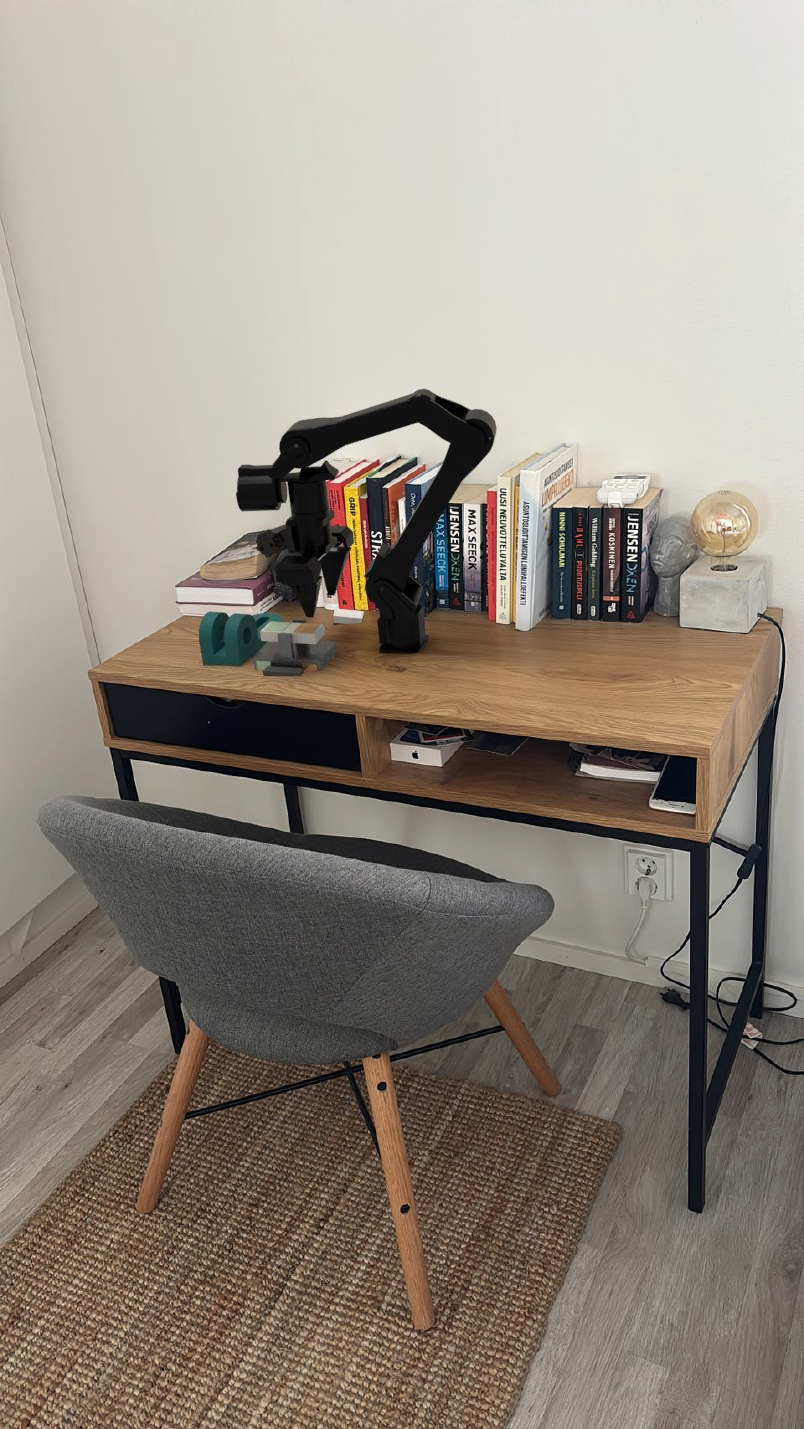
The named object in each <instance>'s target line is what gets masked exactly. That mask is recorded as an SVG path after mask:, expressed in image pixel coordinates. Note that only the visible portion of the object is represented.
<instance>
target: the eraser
mask: <svg viewBox="0 0 804 1429" xmlns="http://www.w3.org/2000/svg"><path fill="white" fill-rule="evenodd" d="M363 619H364V611H363V610H354V609H342V608H335V609H334V613H333V615H332V623H334V624H345V625H348V624H359V623H360V624H361V623H362V622H363Z"/></svg>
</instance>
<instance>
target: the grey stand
mask: <svg viewBox="0 0 804 1429" xmlns="http://www.w3.org/2000/svg"><path fill="white" fill-rule="evenodd" d="M292 623H308V621H307V617H306V618H301V617H294V618H293V619H292ZM277 636H278V642H271V641H268V642H267V643H266V644H265V645H264V646H263V647H262V648H261V649H260V650H259V651H258V652H257V653H256V654H255V655H254V656H253V657H252V658H253V664H254V665H253V666H254V670H256V671H263V670H264V669H265V668H266V667H267V666H273V667H288V668H302V669H304V672H306V671H307V672H318V671H322V670H323V669H324V668H325V667H326V666H327V665H328V664H329V662H330V661H332V659H333V658H334V657H335V656H336V655H337V654H338V649H337V642H336V641H334V642H333V641H321V640H319V641H318V642H317V644H304V643H293V641H292V634H290V633H279V634H278V635H277ZM336 653H337V654H336Z"/></svg>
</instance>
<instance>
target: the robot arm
mask: <svg viewBox="0 0 804 1429" xmlns="http://www.w3.org/2000/svg"><path fill="white" fill-rule="evenodd" d="M415 424H420V425H421V426H424V427H425V428H427V429H428V430H430V431H431V432H432V433H433V434H435V435H437V436H438V437H439V438H441V439H442V440H444V441H445V442H447V443H448V444H449V446H448V448H447V450H446V454H445V456H444V460H443V462H442V464H441V465H440V467H439V469H438V470H437V471H436V472H437V473H436V474H435V476H434V478H433V479H432V480H431V482H430V484H429V485H428V488H427V489H426V491H425V493H424V494H423V495H422V498H421V499H420V501H419V502H418V504H417V507H416V508H415V510H414V511H413V513H412V514H411V517H410V518H409V520H408V521H407V523H406V525H405V526H404V528H403V530H402V532H401V534H400V535H399V537H398V538H397V539H396V541H394V542H393V543H392V544H391V545H390V546H389V545H387V544H386V543H385V541H384V542H383V541H382V543H381V544H380V547H379V549H378V551H377V554H376V555H375V557H374V558H373V559H372V560H370V563H369V565H368V567H367V569H366V571H365V573H364V576H363V577H364V578H365V579H366V578H367V579H366V581H365V584H364V591H365V595H366V597H367V598H368V600H369V601H370V602H371V603H373V605H376V607H377V609H378V611H379V612H378V613H379V617H378V618H377V619H376V623H377V624H376V626H377V635H378V643H379V644H381V645H380V646H378V651H379V652H380V653H381V652H382V653H396V654H397V653H398V654H418V653H420V652H421V650H422V649H424V648H423V647H425V646H426V644H427V642H428V641H429V639H430V635H429V634H426V625H425V622H426V620H425V606H424V605H422V604H418V603H419V600H420V598H421V594H422V592H423V585H422V584H420V583H419V582H418V581H417V580H416V579H415V578H413V577H412V576H411V575H410V574H411V571H412V569H413V566H414V564H415V561H416V559H417V556H418V555H419V553H420V551H421V550H422V548H423V547H424V545H425V543H426V541H427V540H428V538H429V537H430V535H431V533H432V532H433V530H434V528H435V526H436V525H437V523H438V522H439V520H440V518H441V516H442V515H443V513H444V511H445V510H446V509H447V507H448V505H449V504H450V502H451V501H452V498H453V497H454V496H455V493H456V492H457V490H458V488H459V487H460V486H461V484H462V482H463V481H464V480H465V479H466V478H467V477H468V476H469V475H470V474H471V473H472V472H473V471H474V470H475V469H476V468H477V467H478V466H479V465H480V463H481V462H482V461H483V460H484V459H485V458H486V457H487V455H488V454H490V452H491V450H492V448H493V447H494V443H495V439H496V435H497V430H498V428H497V423H496V420H495V419H494V417H493V416H492V414H490V413H489V412H488V411H487V410H484V409H482V408H481V409H479V408H473V409H471V408H468V407H466V406H465V405H464V404H460V403H459V402H456V401H453V400H451V399H447V398H444V397H442V396H440V395H438V394H436V393H434V392H433V391H431V390H429V389H426V388H420V389H417V390H416V391H414V392H411V393H410V394H407V395H403V396H400V397H397V398H394V399H391V400H388V401H385V402H382V403H378V404H376V405H372V406H369V407H366V408H364V409H361V410H357V411H354V412H351V413H348V414H344V415H341V416H334V417H325V416H323V417H315V418H308V419H307V418H306V419H300V420H298V421H296V422H294V423H293V424H292V425H291V426H289V428H288V429H287V430H286V431H285V432H284V433H283V435H282V436H281V438H280V441H279V445H278V449H279V453H280V454H279V455H278V457H277V458H276V459H275V460H274V461H273V462H272V464H262V465H260V464H258V465H253V464H241V465H240V466H239V467H238V468H237V474H238V477H237V483H236V492H235V496H236V502H237V506H238V509H239V510H240V511H241V512H263V511H265V512H266V511H280V510H281V507H282V504H286V503H287V500H288V498H289V506H290V507H289V508H290V516H289V517H288V518H287V519H286V520H285V523H283V524H282V525H279V526H277V527H274V528H272V529H266V530H265V531H264V532H263V531H260V532H259V533H257V535H256V541H255V544H256V547H255V548H256V551H257V552H259V553H260V555H261V554H262V555H264V556H265V558H266V559H267V558H271V557H273V555H276V554H278V553H280V552H283V551H286V550H287V554H297V553H298V554H299V555H286V556H284V557H283V558H282V559H281V560H280V561H279V562H278V563H277V564H276V565H275V566H274V567H273V569H272V570H273V578H274V581H275V582H276V583H280V584H281V585H283V586H287V587H289V588H290V589H292V591H293V593H294V594H295V596H296V598H297V600H298V602H299V604H300V606H301V608H302V610H303V613H304V614H305V617H306V618H309V619H311V618H314V617H315V614H316V610H317V606H318V602H319V601H318V599H319V596H320V591H321V585H322V582H323V581H324V585H325V588H326V589H325V590H326V592H327V595H328V596H335V595H336V593H337V590H338V586H339V584H340V581H341V578H342V575H343V571H344V569H345V566H346V564H347V561H348V558H349V556H350V552H351V551H352V546H353V544H354V543H355V538H354V537H355V536H354V531H353V530H352V529H351V528H350V526H348V525H332V522H331V521H332V520H333V519H334V518H335V510H332V509H331V510H330V506H329V497H328V487H327V481H334V480H335V479H336V478H337V476H338V475H339V473H340V470H339V469H338V468H336V467H335V466H333V465H332V464H330V462H329V460H327V459H326V460H324V461H323V462H322V464H321V465H318V466H317V465H316V466H312V465H314V464H316V463H317V462H320V461H322V460H323V459H325V458H327V457H329V455H332V454H333V453H335V452H337V451H338V450H340V449H342V448H343V447H345V446H348V445H352V444H354V443H358V442H361V441H364V440H367V439H371V438H374V437H377V436H380V435H383V434H386V433H390V432H392V431H395V430H399V429H402V428H405V427H408V426H411V425H415ZM295 469H298V470H300V471H297V472H292V471H293V470H295ZM321 574H322V575H321Z"/></svg>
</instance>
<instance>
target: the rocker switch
mask: <svg viewBox="0 0 804 1429" xmlns="http://www.w3.org/2000/svg"><path fill="white" fill-rule="evenodd" d="M279 633H290V634H292V641H293V643H304V644H317V642H318V641H321V639H322V638H323V637H324V636H325V635H326V628H325V624H324V623H308V622H307V623H293V622H291V621H290V622H288V621H287V622H286V621H283V622H273V621H270V622H269V623H268V624H267V625H266V626H265V627H264V628H263V629H262V630H261V631H260V634H261V641H271V642H278V636H277V635H278V634H279Z"/></svg>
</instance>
